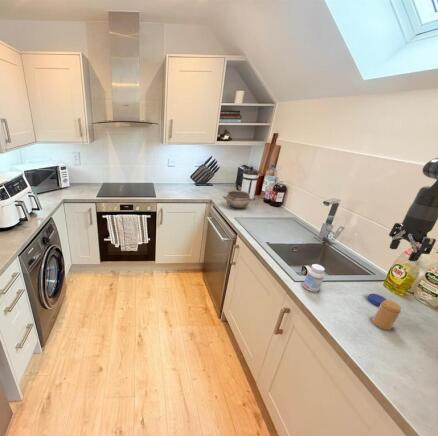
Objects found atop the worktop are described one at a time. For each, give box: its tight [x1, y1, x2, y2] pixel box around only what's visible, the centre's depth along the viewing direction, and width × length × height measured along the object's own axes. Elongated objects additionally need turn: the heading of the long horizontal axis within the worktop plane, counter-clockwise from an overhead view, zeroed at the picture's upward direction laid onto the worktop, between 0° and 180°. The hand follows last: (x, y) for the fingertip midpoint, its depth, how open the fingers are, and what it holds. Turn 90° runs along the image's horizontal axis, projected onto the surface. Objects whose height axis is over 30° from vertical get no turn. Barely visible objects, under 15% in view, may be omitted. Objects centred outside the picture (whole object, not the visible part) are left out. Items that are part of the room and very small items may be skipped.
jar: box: [372, 299, 402, 331], centre depth 85 cm, size 5×5×9 cm
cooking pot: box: [222, 189, 255, 210], centre depth 196 cm, size 25×19×12 cm
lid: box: [367, 293, 388, 307], centre depth 97 cm, size 6×6×2 cm
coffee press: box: [235, 166, 260, 201], centre depth 213 cm, size 17×16×30 cm
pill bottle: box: [302, 263, 326, 293], centre depth 103 cm, size 6×6×11 cm
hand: (402, 254), depth 90 cm, fingers open, 8 cm apart
